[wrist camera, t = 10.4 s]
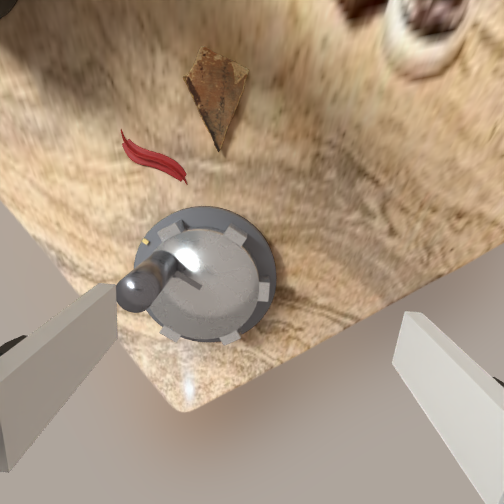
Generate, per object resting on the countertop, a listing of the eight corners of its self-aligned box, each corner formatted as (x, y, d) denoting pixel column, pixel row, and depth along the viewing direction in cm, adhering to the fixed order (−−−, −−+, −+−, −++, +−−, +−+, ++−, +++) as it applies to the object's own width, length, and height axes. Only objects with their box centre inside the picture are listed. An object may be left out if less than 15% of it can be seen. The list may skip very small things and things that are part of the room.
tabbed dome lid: (122, 297, 46) (71, 347, 34) (184, 192, 42) (153, 204, 29) (221, 355, 49) (208, 421, 36) (290, 261, 44) (303, 300, 32)
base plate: (137, 199, 44) (131, 201, 42) (283, 213, 44) (284, 215, 42) (139, 329, 50) (134, 337, 48) (268, 340, 50) (268, 349, 48)
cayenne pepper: (111, 137, 43) (104, 136, 41) (133, 113, 42) (127, 110, 40) (173, 202, 45) (169, 204, 43) (195, 181, 44) (192, 182, 42)
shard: (220, 153, 43) (218, 152, 41) (168, 129, 42) (164, 127, 40) (251, 72, 40) (251, 68, 38) (196, 45, 39) (194, 40, 38)
